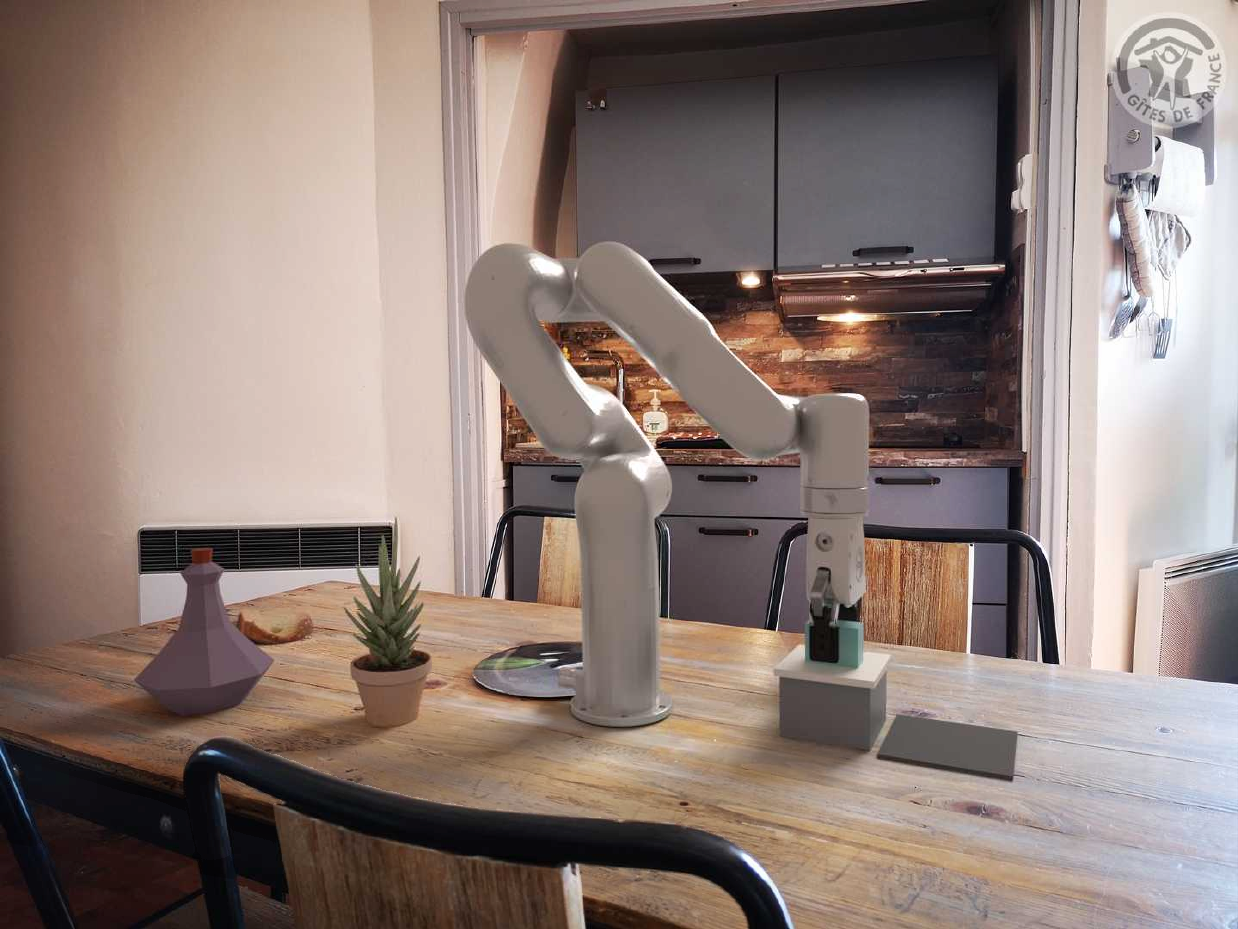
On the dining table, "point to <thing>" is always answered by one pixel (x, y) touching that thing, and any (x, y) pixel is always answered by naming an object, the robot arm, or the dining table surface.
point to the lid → (849, 669)
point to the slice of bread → (274, 625)
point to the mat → (951, 746)
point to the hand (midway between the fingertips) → (834, 650)
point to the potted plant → (389, 647)
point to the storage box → (831, 712)
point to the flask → (204, 650)
